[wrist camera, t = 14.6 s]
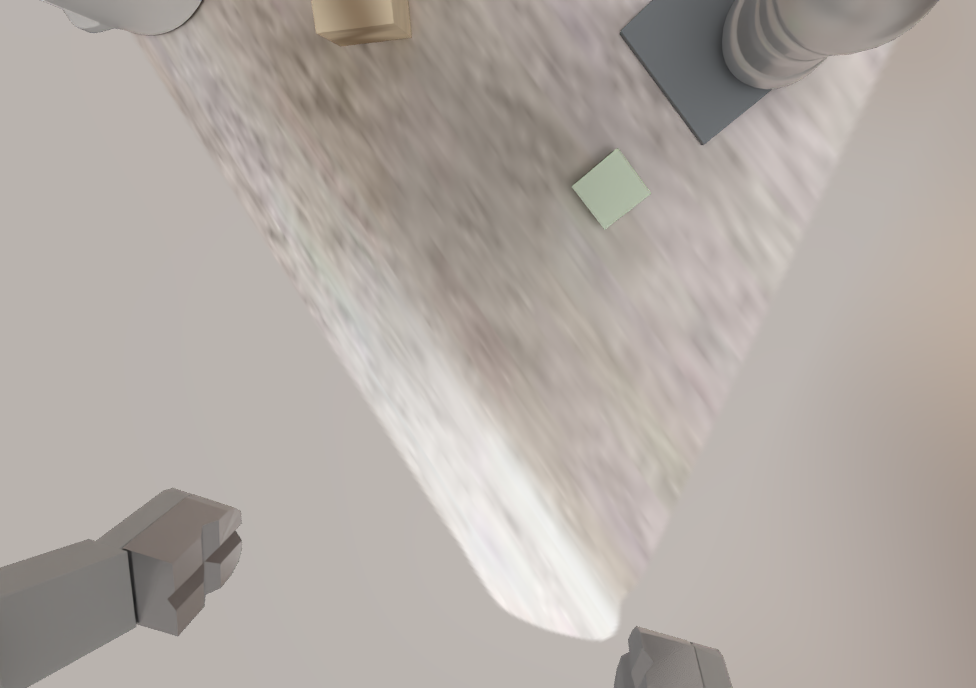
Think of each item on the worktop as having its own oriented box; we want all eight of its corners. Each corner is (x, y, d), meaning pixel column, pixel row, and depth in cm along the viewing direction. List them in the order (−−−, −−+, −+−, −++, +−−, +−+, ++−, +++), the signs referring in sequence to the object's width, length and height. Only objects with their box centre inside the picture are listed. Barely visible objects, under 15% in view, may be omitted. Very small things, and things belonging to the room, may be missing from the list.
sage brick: (572, 185, 39) (571, 186, 35) (614, 150, 37) (617, 147, 34) (602, 224, 39) (604, 229, 36) (644, 191, 38) (651, 193, 34)
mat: (620, 34, 35) (620, 30, 34) (748, -90, 31) (752, -97, 30) (701, 145, 36) (704, 144, 35) (833, 38, 32) (839, 34, 32)
